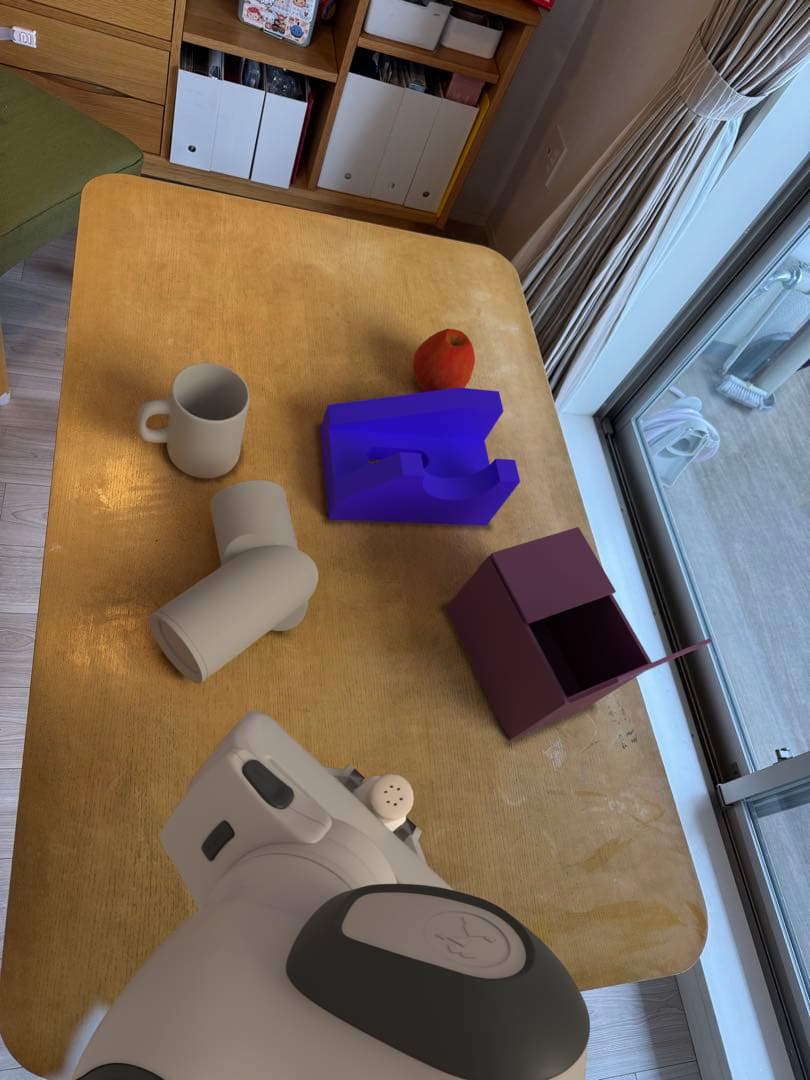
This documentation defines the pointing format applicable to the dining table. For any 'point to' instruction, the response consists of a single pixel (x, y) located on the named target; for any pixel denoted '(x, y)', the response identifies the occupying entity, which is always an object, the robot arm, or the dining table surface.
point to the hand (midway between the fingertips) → (378, 803)
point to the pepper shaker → (386, 798)
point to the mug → (201, 419)
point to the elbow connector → (239, 583)
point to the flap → (639, 670)
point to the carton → (544, 630)
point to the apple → (444, 361)
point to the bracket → (415, 459)
